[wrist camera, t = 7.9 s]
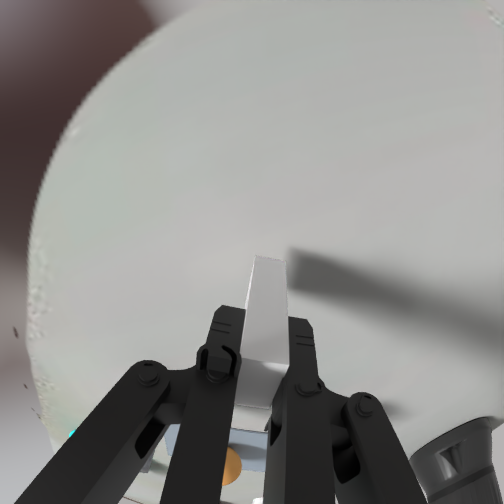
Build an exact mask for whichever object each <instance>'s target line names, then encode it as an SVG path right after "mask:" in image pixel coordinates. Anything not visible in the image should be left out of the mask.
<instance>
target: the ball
mask: <svg viewBox="0 0 504 504" xmlns="http://www.w3.org/2000/svg"><path fill="white" fill-rule="evenodd" d="M241 470H242V463H241V459H240V457H239V455H238V454H237V453H236V452H235V451H234V450H233V449H232V448H230V447H228V449H227V456H226V462H225V469H224V476H223V482H222V486H224V485H228V484H230V483H232V482H233V481H235V480H236V479H237V478H238V477H239V475H240V473H241Z"/></svg>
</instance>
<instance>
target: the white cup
mask: <svg viewBox="0 0 504 504" xmlns="http://www.w3.org/2000/svg"><path fill="white" fill-rule="evenodd" d="M253 504H263V497H260V498H255V499H253Z"/></svg>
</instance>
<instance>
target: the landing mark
mask: <svg viewBox="0 0 504 504" xmlns="http://www.w3.org/2000/svg"><path fill="white" fill-rule="evenodd" d="M179 427H180V424H171V425H170V426H169V428H168V430H167V431H166V433H165V434H164V437H165V442H166V447H167V451H168V455H170V456H172V453H173V450H174V446H175V442H176V438H177V435H178V431H179ZM267 438H268V433H262V432H254V431H247V430H240V429H234V428H231V429H230V436H229V442H228V447H230V448H232V449H233V450H234V451H235V452H236V453H237V454H238V455H239V457H240V459H241V463H242V470H248V471H258V472H265V467H266V453H267Z"/></svg>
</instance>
